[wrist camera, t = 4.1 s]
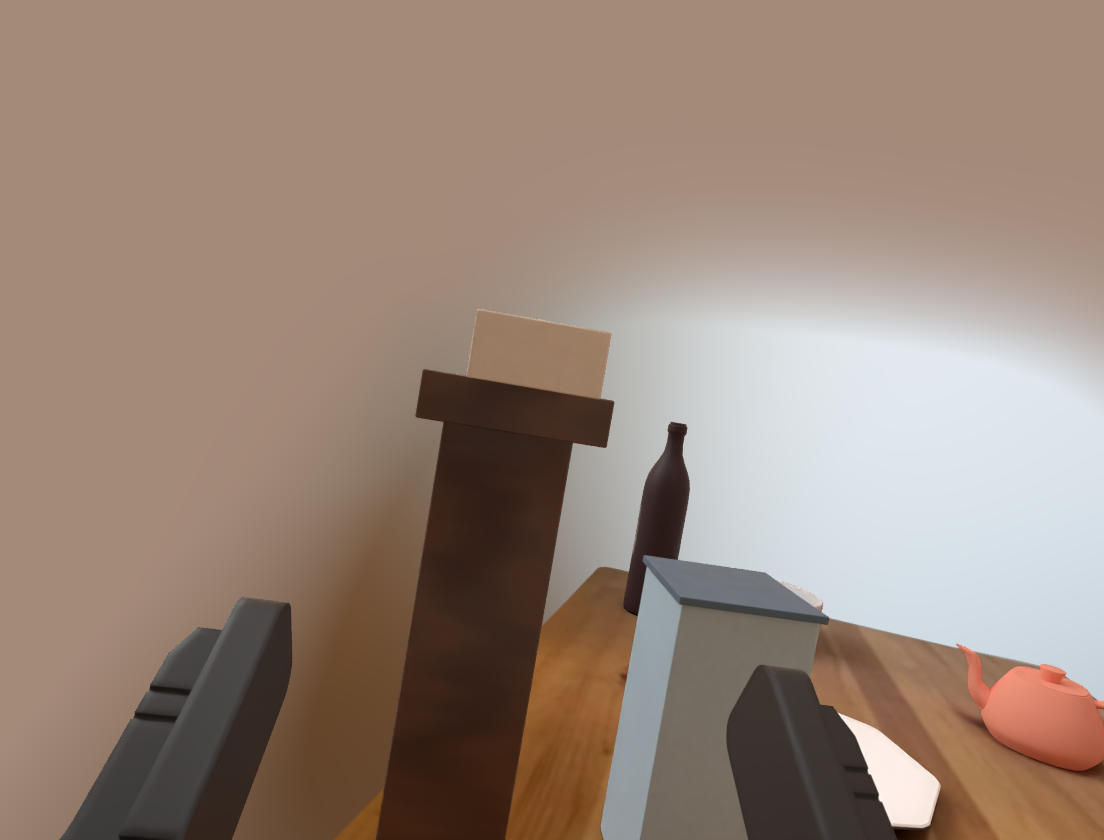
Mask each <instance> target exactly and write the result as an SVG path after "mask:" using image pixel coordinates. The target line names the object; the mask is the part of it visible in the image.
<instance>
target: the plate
mask: <svg viewBox="0 0 1104 840" xmlns="http://www.w3.org/2000/svg"><path fill="white" fill-rule="evenodd" d="M838 714H839V713H838ZM839 715H840V717H841V718H842V719H843V720H844V722H845V723H846V724H847V726H848V727H849V728H850V730H851V731H852V732H853V733H854V735H855V736H856V739H857V741H858V744H859V746H860V749H861V751H862V754H863V756H864V758H865V761H866V763H867V766H868V773H869V774H871V776H872V778H873V781H874V783H875V785H876V788H877V790H878V793H879V801H881V802H882V803H883V805H884V808H885V810H886V813H887V815H888V817H889V820H890V822H891V825H892V827H893V829H898V830H914V831H921V830H924V829H927V828H929V827H930V823H931V820H932V816H933V812H934V809H935V805H936V802H937V798H938V795H939V791H940V788H941V785H940V784H939V782H938V780H937V779H936V778H935V777H934V776H933V775H932V774H931V773H929V772H928V771H927V770H926V769H924V768H923V767H922V766H921V765H920V764H918V763H917V762H916V761H915V760H914V759H912V758H911V757H910V756H909V755H908V754H906V753H905V752H904V751H903V750H902V749H900V748H899V747H898V746H897V745H896V744H894V743H893V742H892V741H891V740H890V739H888V738H887V737H886V736H885V735H884V734H882V733H881V732H880V731H879V730H877V729H875V728H873V727H871V726H869V725H867V724H864V723H862V722H859V721H857V720H854V719H852V718H849V717H847V716H844V715H842V714H839Z"/></svg>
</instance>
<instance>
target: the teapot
mask: <svg viewBox="0 0 1104 840" xmlns="http://www.w3.org/2000/svg"><path fill="white" fill-rule="evenodd" d="M957 646H958V647H959V648H960V649H961V650H962V651H963V652H964V654H965V655H966V657H967V660H968V666H969V674H968V687H969V692H970V694H971V697H972V699H973V700H974V702H975V703H976V704H977V705H978V706H979V707H980V708H981V715H982V718H983V721H984V723H985V725H986V727H987V728H988V730H989V732H990V733H991V735H992V736H993V737H994V738H995V739H997V740H998V741H999V742H1001V743H1002V744H1004V745H1005V746H1007V747H1009V748H1011V749H1013V750H1015V751H1017V752H1019V753H1021V754H1024V755H1026V756H1028V757H1031V758H1034V759H1036V760H1039V761H1042V762H1044V763H1047V764H1050V765H1053V766H1057V767H1060V768H1064V769H1068V770H1075V771H1083V770H1087V769H1089V768H1091V767H1093V766H1095V765H1097V764H1099V763H1100V762H1101V761H1102V760H1103V759H1104V727H1103V723H1102V720H1101V717H1100V714H1099V712H1098V709H1104V701H1097V700H1093V698H1092V696H1091V694H1090V693H1089V692H1088V690H1087V689H1085V688H1084V687H1083V686H1081V685H1079V684H1077V683H1075V682H1074V681H1071V680H1069V679H1066V678H1064V676H1065V675H1066V672H1065V671H1063V670H1062V669H1059V668H1057V667H1054V666H1050V665H1046V664H1042V665H1040V669H1041V670H1038V669H1034V668H1029V667H1021V666H1020V667H1015V668H1013V669H1012V670H1010V671H1009V672H1008V673H1006V674H1005V675H1004V676H1003V677H1002V678H1001V679H1000V680H999V681H997V682H996V683H995V685H994V686H993V687H992V688H991V689H989V688H988V687H987V686H986V685H985V684H984V682H983V681H982V677H981V662H980V659H979V657H978V655H977V654H976V653H975V652H973V651H971V650H970V649H968V648H966V647H963V646H961V645H959V644H957ZM1097 708H1098V709H1097Z"/></svg>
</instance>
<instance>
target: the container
mask: <svg viewBox="0 0 1104 840" xmlns="http://www.w3.org/2000/svg"><path fill="white" fill-rule="evenodd" d="M643 562H644V563H645V565H646V566H647V568H646V574H645V580H644V585H643V591H642V596H641V602H640V608H639V613H638V619H637V624H636V630H635V636H634V641H633V647H632V653H631V658H630V664H629V669H628V675H627V681H626V686H625V692H624V698H623V703H622V709H621V714H620V720H619V726H618V731H617V737H616V742H615V748H614V754H613V759H612V765H611V771H610V776H609V782H608V787H607V793H606V799H605V804H604V810H603V816H602V821H601V827H600V828H601V832H602V836H603V840H748V837H747V833H746V829H745V824H744V820H743V816H742V811H741V807H740V803H739V798H738V794H737V790H736V786H735V781H734V777H733V773H732V768H731V764H730V760H729V755H728V750H727V743H726V731H727V723H728V718H729V715H730V713H731V711H732V709H733V708H734V706H735V704H736V702H737V700H738V699H739V697H740V695H741V693H742V691H743V690H744V688H745V686H746V684H747V682H748V681H749V679H750V677H751V675H752V674H753V672H754V670H755V669H756V667H757V666H759V665H768V666H776V667H784V668H792V669H800V670H803V671H804V672H806V673H807V675H808V676H809V678H810V676H811V671H812V666H813V661H814V655H815V650H816V645H817V640H818V634H819V629H820V624H825V625H828V621H829V617H828V616H826V615H825V614H823V613H822V612H821V611H819V610H818V609H816V608H815V607H813V606H812V605H811V604H809V603H808V602H806V601H805V600H803V599H802V598H801V597H799V596H798V595H796V594H795V593H793V592H792V591H791V590H789V589H788V588H786V587H785V586H783V585H782V584H781V583H779V582H778V581H776V580H775V579H773V578H772V577H771V576H769V575H768V574H766V573H763V572H757V571H750V570H743V569H736V568H729V567H722V566H715V565H708V564H702V563H695V562H688V561H681V560H674V559H667V558H660V557H653V556H646V555H644V556H643Z"/></svg>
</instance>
